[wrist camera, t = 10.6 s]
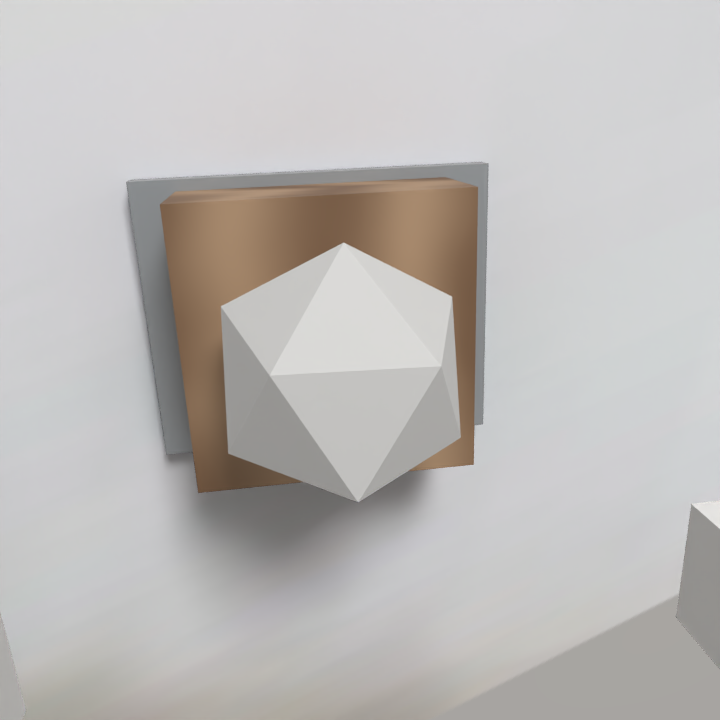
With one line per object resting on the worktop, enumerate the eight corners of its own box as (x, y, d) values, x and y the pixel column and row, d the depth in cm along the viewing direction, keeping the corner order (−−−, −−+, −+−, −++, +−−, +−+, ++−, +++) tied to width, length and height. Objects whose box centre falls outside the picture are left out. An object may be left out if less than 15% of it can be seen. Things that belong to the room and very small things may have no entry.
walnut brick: (206, 441, 34) (198, 493, 29) (175, 191, 30) (159, 204, 25) (445, 419, 35) (473, 464, 31) (445, 176, 31) (478, 186, 27)
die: (180, 292, 27) (171, 530, 22) (313, 146, 22) (344, 411, 17) (342, 353, 32) (367, 559, 27) (482, 245, 27) (547, 474, 21)
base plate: (169, 444, 35) (166, 454, 34) (131, 179, 31) (126, 182, 29) (476, 414, 37) (482, 424, 36) (480, 161, 32) (488, 163, 31)
